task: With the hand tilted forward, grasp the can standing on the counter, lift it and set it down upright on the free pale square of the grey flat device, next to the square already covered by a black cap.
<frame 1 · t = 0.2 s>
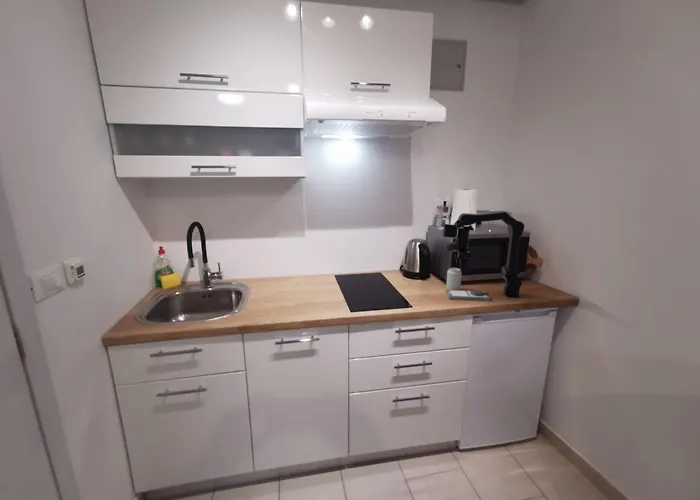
hand: (459, 267, 172), 15 cm above the countertop, tool pointing down, fingers open, 9 cm apart
can: (453, 290, 181), on the countertop
grey flat device: (466, 296, 170), on the countertop
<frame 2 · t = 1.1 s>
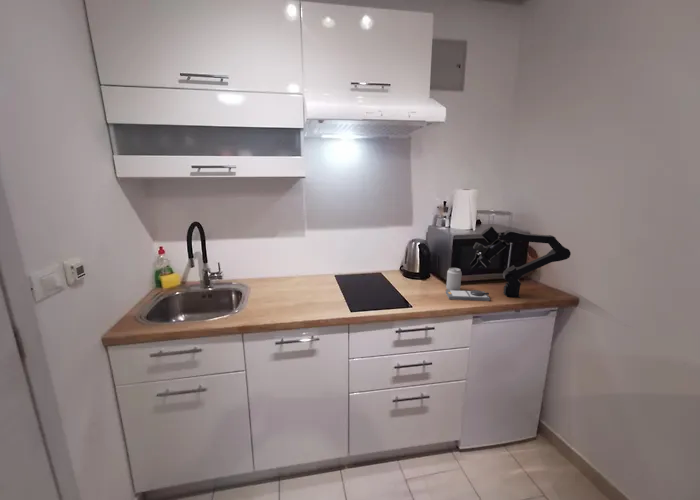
hand: (470, 267, 175), 13 cm above the countertop, tool tilted 45°, fingers open, 9 cm apart
nothing on the countertop moved.
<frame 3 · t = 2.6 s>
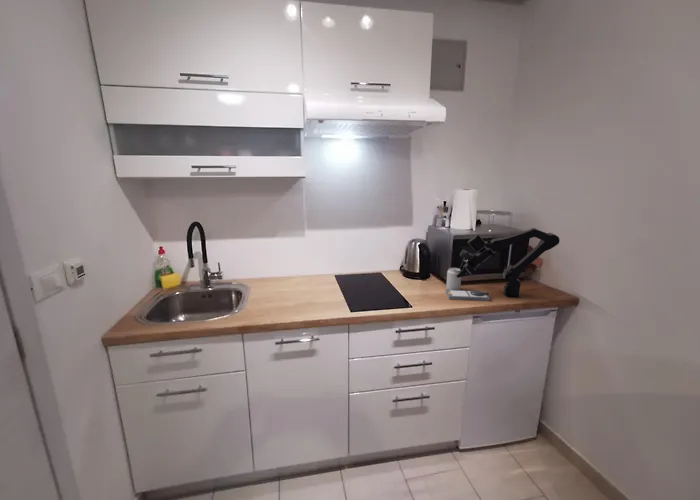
hand: (456, 274, 178), 9 cm above the countertop, tool tilted 45°, fingers open, 9 cm apart
nothing on the countertop moved.
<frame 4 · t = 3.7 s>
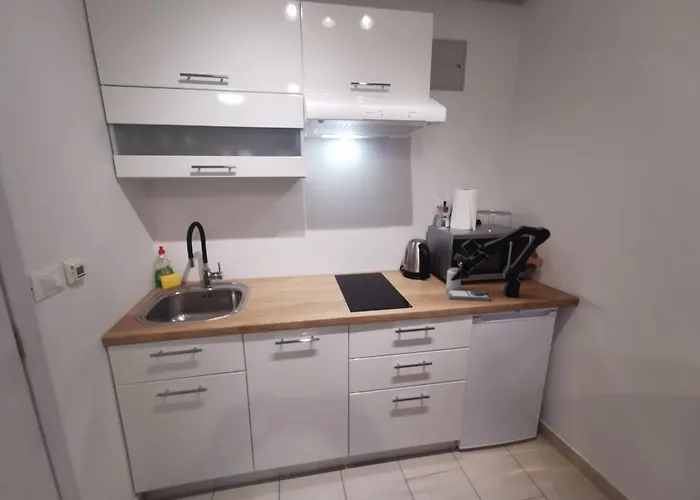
hand: (451, 278, 180), 7 cm above the countertop, tool tilted 45°, fingers closed on can, 7 cm apart
can: (453, 290, 181), on the countertop, touching gripper
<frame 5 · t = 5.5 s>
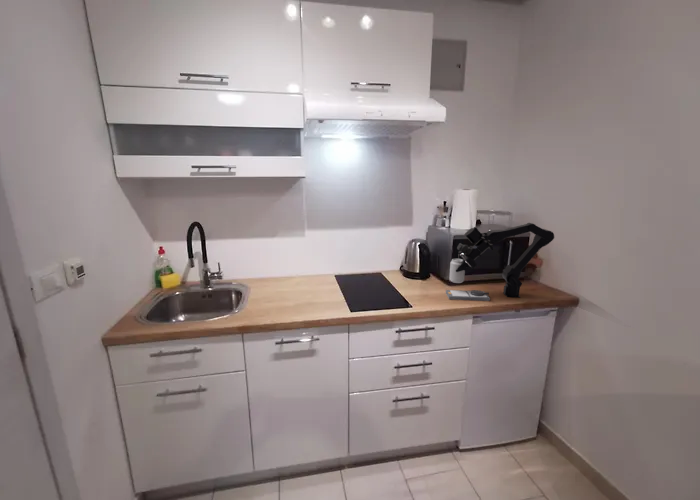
hand: (454, 269, 173), 13 cm above the countertop, tool tilted 45°, fingers closed on can, 7 cm apart
can: (456, 281, 174), point 6 cm above the countertop, touching gripper
when the fingers open (9 cm above the countertop, at t = 7.4 s): can stays where it is, resting on grey flat device.
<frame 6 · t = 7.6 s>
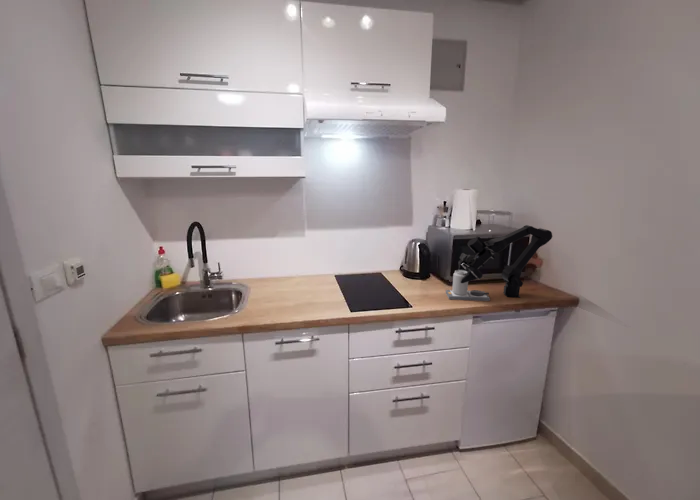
hand: (457, 279, 169), 9 cm above the countertop, tool tilted 45°, fingers open, 9 cm apart
can: (459, 293, 170), point 1 cm above the countertop, touching grey flat device
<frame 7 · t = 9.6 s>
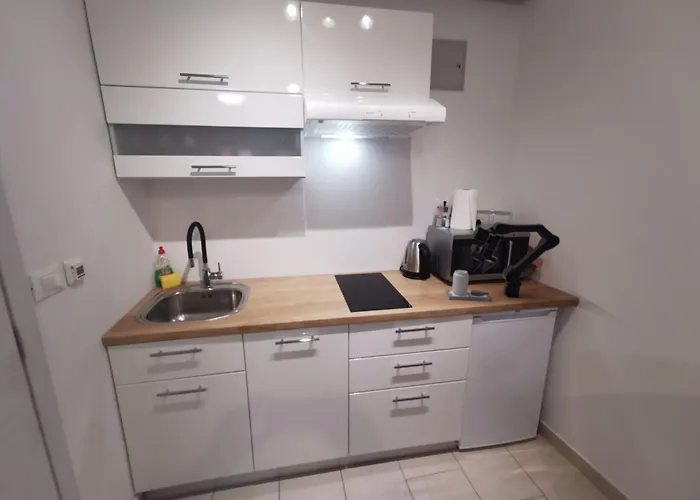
hand: (477, 272, 173), 12 cm above the countertop, tool tilted 20°, fingers open, 9 cm apart
nothing on the countertop moved.
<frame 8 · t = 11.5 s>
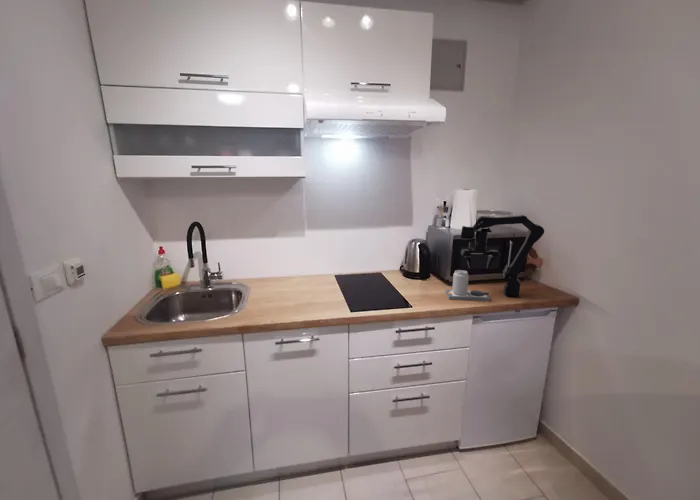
hand: (478, 268, 175), 13 cm above the countertop, tool pointing down, fingers open, 9 cm apart
nothing on the countertop moved.
at the end: can 0.2 cm from the target spot on the grey flat device, point 1.5 cm above the grey flat device's base; can tilted 0°; the gripper is holding nothing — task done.
